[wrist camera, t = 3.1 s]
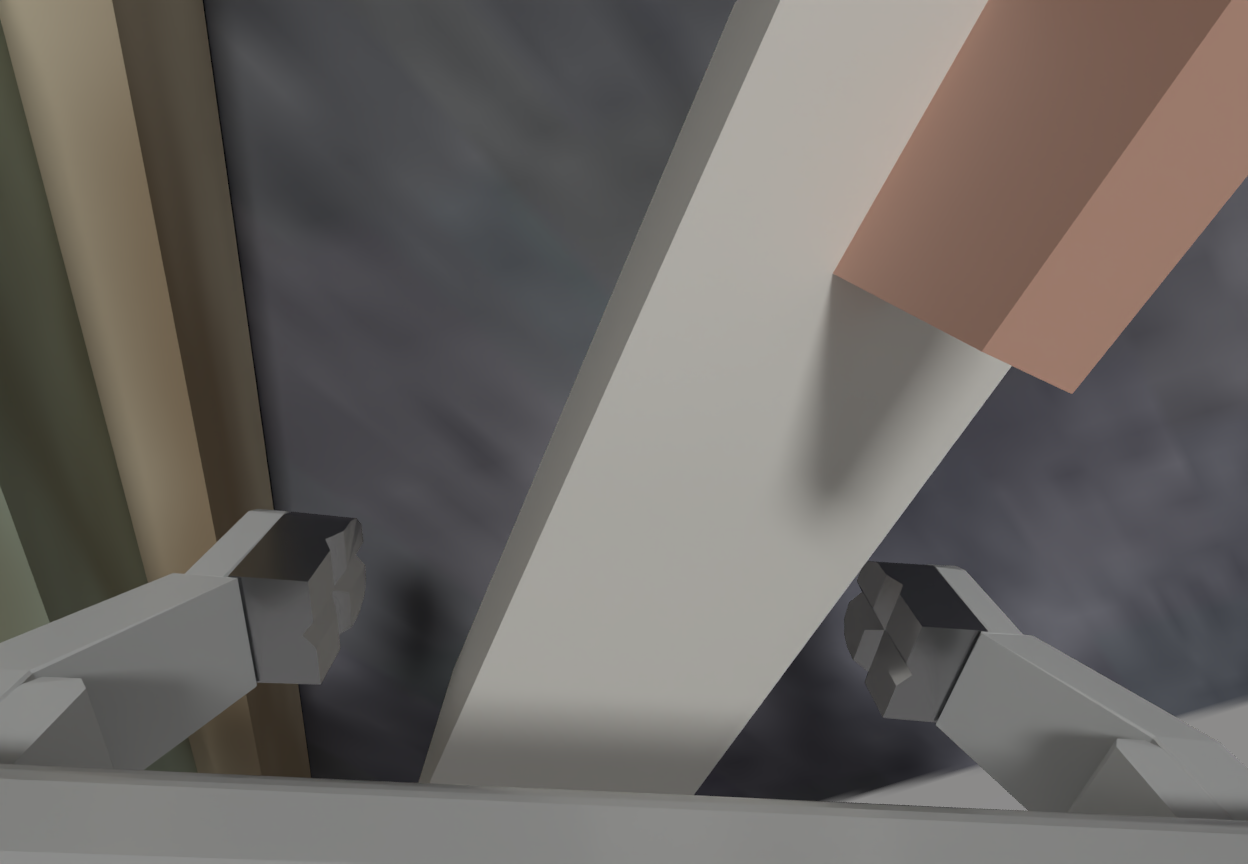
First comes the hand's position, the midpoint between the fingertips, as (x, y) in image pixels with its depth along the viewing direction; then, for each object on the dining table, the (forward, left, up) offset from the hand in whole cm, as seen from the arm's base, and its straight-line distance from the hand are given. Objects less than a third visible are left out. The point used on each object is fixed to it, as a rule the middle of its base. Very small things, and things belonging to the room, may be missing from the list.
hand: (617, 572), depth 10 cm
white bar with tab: (-1, 0, -4) cm, 4 cm away
